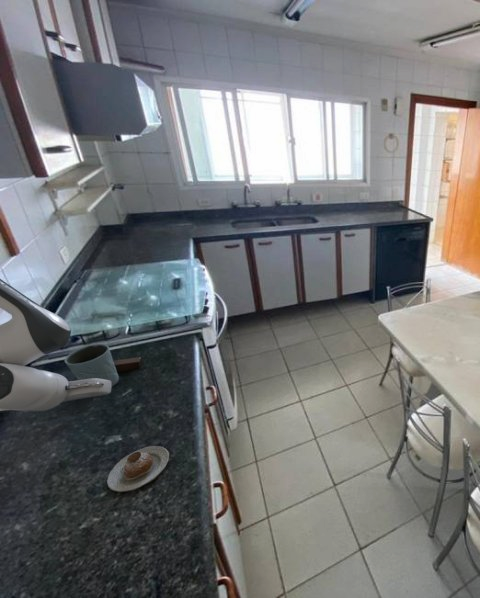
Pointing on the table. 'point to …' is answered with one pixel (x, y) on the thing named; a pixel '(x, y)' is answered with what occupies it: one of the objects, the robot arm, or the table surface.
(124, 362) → the bar
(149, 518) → the table surface
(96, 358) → the grey green pot
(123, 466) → the pastry
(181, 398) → the table surface
